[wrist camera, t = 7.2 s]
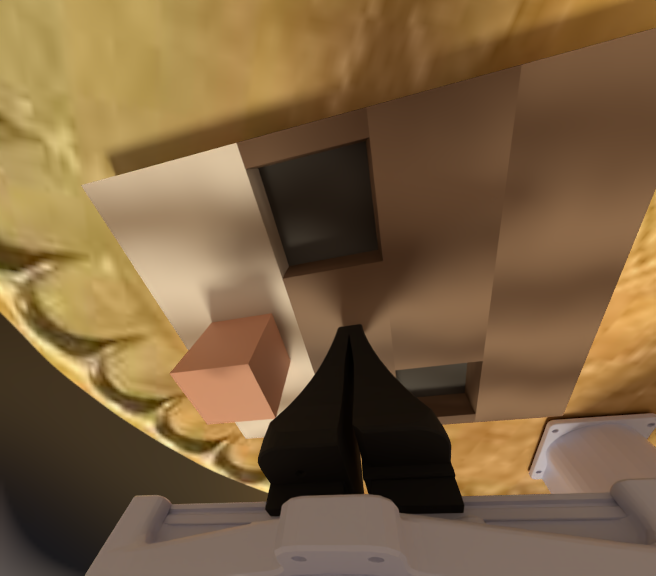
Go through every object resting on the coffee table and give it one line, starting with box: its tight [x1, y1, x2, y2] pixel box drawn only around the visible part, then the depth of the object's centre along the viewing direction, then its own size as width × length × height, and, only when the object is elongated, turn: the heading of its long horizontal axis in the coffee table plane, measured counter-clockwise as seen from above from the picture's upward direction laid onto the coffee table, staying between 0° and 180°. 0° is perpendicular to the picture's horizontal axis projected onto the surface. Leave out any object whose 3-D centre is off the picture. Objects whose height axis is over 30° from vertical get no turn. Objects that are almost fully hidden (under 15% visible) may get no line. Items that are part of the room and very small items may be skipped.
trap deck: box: [81, 28, 656, 439], centre depth 15 cm, size 21×25×2 cm
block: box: [170, 313, 291, 424], centre depth 13 cm, size 4×4×4 cm
